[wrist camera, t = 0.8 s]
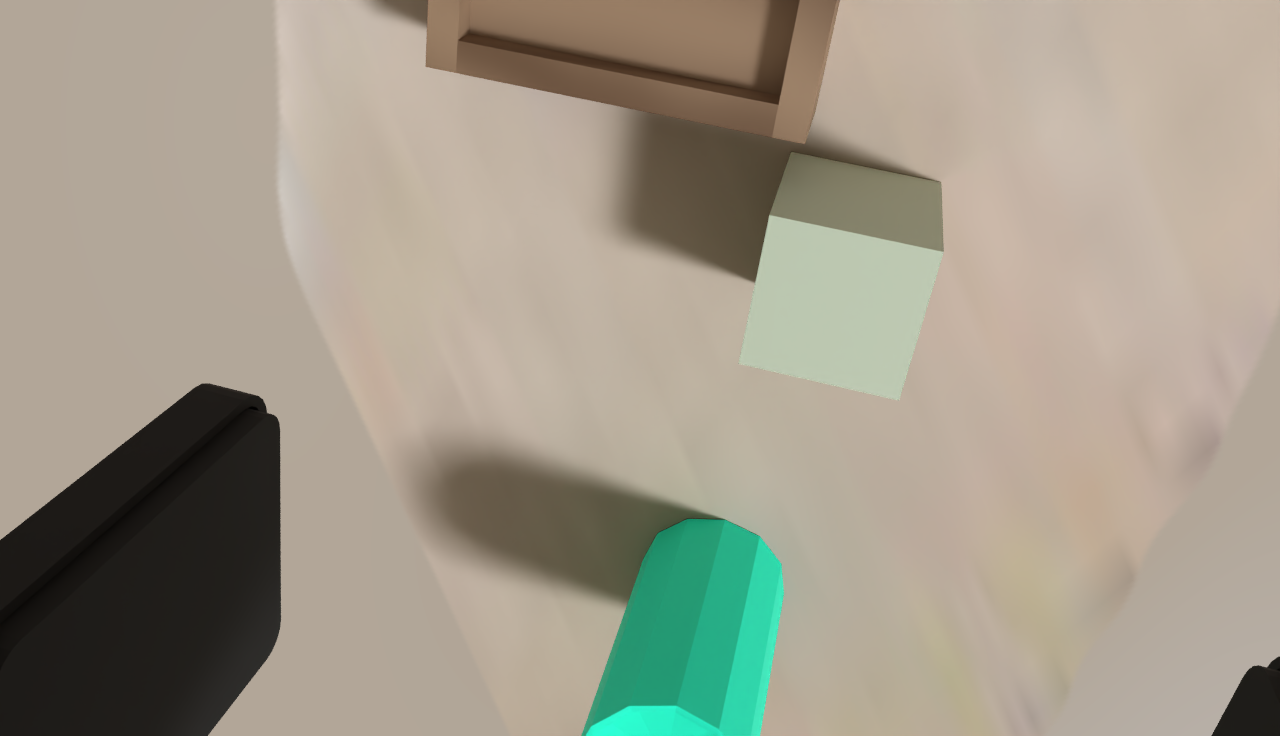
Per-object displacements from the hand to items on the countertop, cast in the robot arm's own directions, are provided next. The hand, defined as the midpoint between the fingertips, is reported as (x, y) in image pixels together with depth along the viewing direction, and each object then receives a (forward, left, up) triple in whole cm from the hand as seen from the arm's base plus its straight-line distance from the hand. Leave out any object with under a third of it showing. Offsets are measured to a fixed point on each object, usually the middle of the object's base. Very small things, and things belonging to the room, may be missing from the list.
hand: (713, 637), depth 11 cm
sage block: (+7, +1, -28) cm, 29 cm away
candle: (+23, -1, -28) cm, 36 cm away
